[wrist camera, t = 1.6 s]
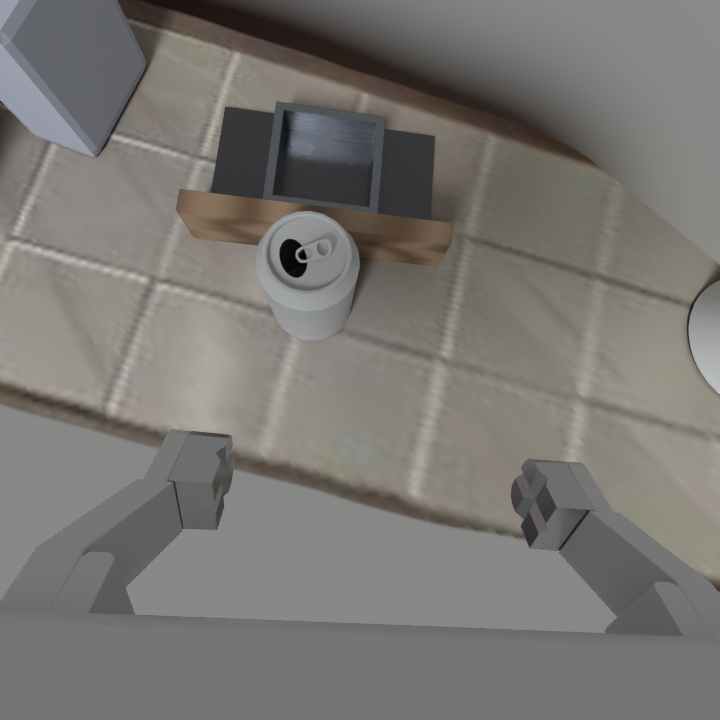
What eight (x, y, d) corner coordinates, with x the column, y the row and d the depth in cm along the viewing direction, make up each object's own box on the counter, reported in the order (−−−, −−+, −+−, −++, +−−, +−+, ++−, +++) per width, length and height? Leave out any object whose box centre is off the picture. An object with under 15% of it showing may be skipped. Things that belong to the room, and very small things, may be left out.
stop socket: (433, 139, 43) (442, 114, 40) (427, 242, 41) (437, 225, 38) (226, 109, 42) (217, 81, 38) (208, 215, 40) (198, 195, 36)
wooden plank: (437, 247, 41) (452, 222, 36) (436, 266, 41) (451, 243, 36) (197, 219, 39) (179, 188, 34) (194, 237, 39) (175, 210, 34)
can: (265, 277, 39) (239, 211, 27) (339, 261, 40) (346, 190, 28) (282, 351, 38) (264, 315, 26) (359, 332, 39) (374, 290, 27)
